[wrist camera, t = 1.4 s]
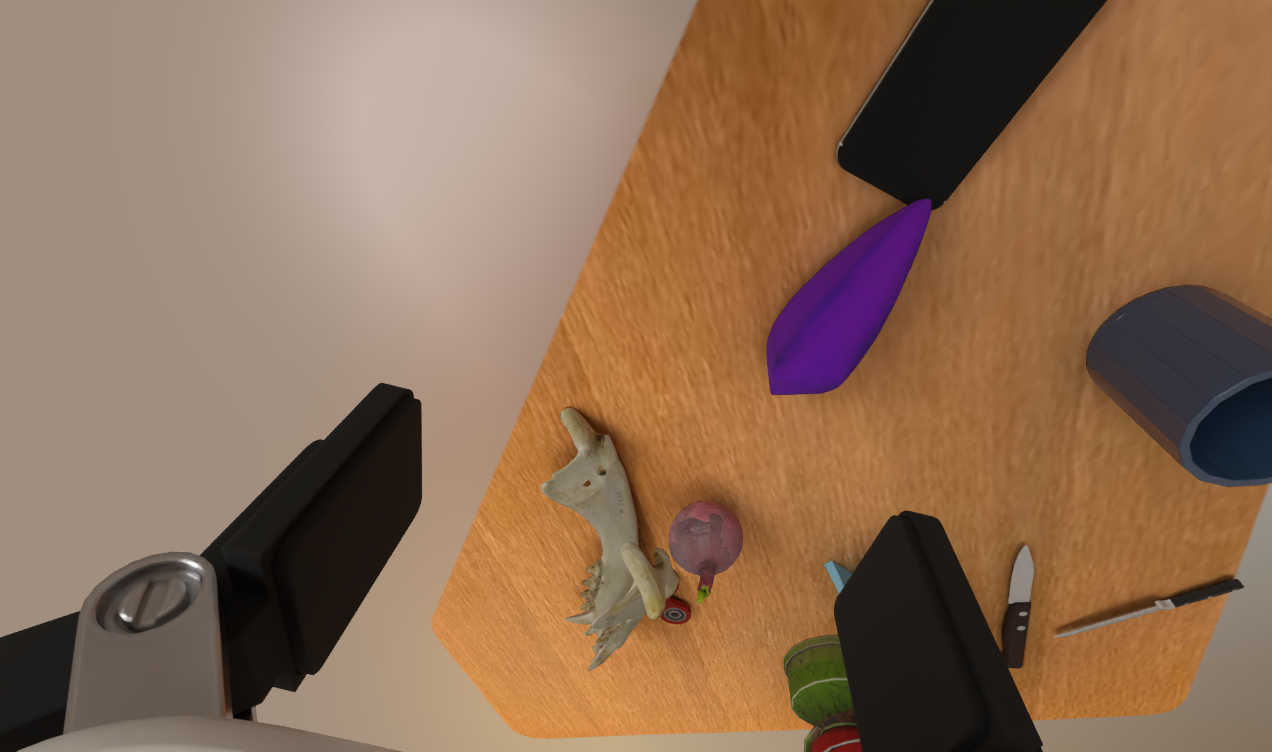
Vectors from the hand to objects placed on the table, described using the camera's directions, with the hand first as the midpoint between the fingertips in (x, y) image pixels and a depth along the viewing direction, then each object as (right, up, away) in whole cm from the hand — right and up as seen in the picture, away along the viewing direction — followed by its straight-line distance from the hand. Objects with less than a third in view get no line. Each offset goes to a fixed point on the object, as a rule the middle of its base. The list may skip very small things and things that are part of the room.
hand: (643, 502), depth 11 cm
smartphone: (+17, +19, +18) cm, 31 cm away
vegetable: (+6, -9, +37) cm, 39 cm away
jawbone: (+2, -14, +38) cm, 41 cm away
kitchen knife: (+34, -19, +40) cm, 56 cm away
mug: (+35, +4, +26) cm, 44 cm away
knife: (+44, -18, +37) cm, 61 cm away
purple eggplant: (+13, +8, +26) cm, 30 cm away
